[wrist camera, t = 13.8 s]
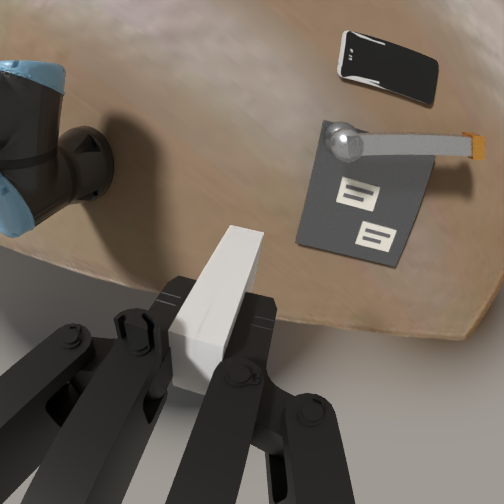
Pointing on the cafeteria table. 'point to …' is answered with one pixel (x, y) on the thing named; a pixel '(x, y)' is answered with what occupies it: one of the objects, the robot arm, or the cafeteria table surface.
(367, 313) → the cafeteria table surface
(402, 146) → the swing arm
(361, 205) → the label
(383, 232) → the label
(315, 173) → the board
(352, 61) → the smartphone
